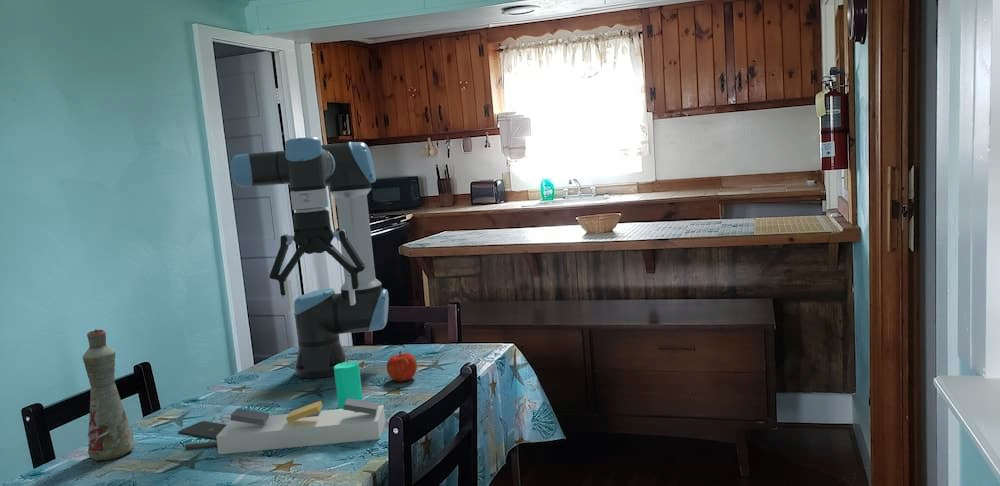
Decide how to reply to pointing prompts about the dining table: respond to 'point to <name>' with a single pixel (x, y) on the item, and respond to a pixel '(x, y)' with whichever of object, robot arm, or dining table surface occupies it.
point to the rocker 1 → (249, 416)
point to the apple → (401, 367)
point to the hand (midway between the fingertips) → (322, 307)
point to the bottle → (105, 403)
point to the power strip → (298, 431)
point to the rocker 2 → (304, 411)
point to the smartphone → (203, 430)
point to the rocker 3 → (361, 406)
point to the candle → (347, 382)
